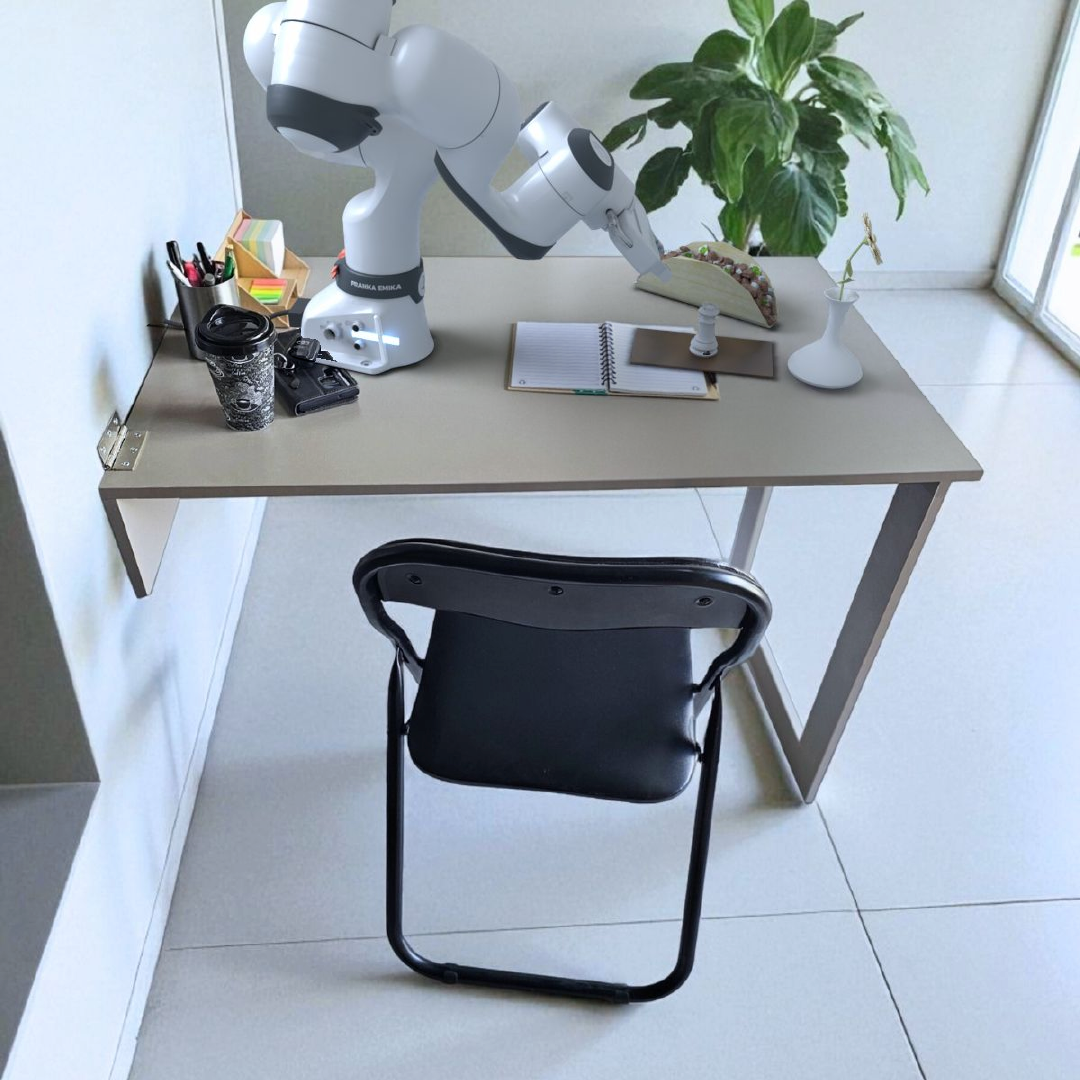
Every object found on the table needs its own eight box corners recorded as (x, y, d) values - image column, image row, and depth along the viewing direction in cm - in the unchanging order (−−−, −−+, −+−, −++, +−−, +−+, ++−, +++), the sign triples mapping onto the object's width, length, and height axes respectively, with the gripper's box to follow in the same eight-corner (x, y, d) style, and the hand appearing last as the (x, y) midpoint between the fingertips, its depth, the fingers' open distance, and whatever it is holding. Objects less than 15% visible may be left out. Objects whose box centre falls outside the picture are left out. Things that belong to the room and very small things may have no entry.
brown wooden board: (630, 363, 163) (630, 361, 162) (636, 329, 172) (637, 327, 172) (772, 379, 160) (773, 376, 160) (771, 343, 170) (771, 341, 169)
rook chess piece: (721, 357, 164) (729, 310, 160) (695, 359, 164) (701, 312, 159) (710, 344, 168) (717, 298, 163) (684, 346, 167) (691, 300, 162)
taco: (762, 338, 171) (773, 279, 165) (622, 294, 183) (627, 238, 177) (786, 317, 178) (797, 261, 171) (649, 276, 189) (655, 222, 183)
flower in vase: (845, 403, 155) (886, 241, 140) (774, 381, 160) (805, 221, 144) (873, 369, 164) (914, 213, 149) (804, 349, 169) (837, 196, 153)
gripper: (628, 210, 141) (691, 279, 148) (615, 161, 158) (672, 225, 164) (593, 241, 144) (656, 308, 150) (583, 189, 160) (641, 252, 166)
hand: (664, 264), depth 157 cm, fingers open, 8 cm apart
